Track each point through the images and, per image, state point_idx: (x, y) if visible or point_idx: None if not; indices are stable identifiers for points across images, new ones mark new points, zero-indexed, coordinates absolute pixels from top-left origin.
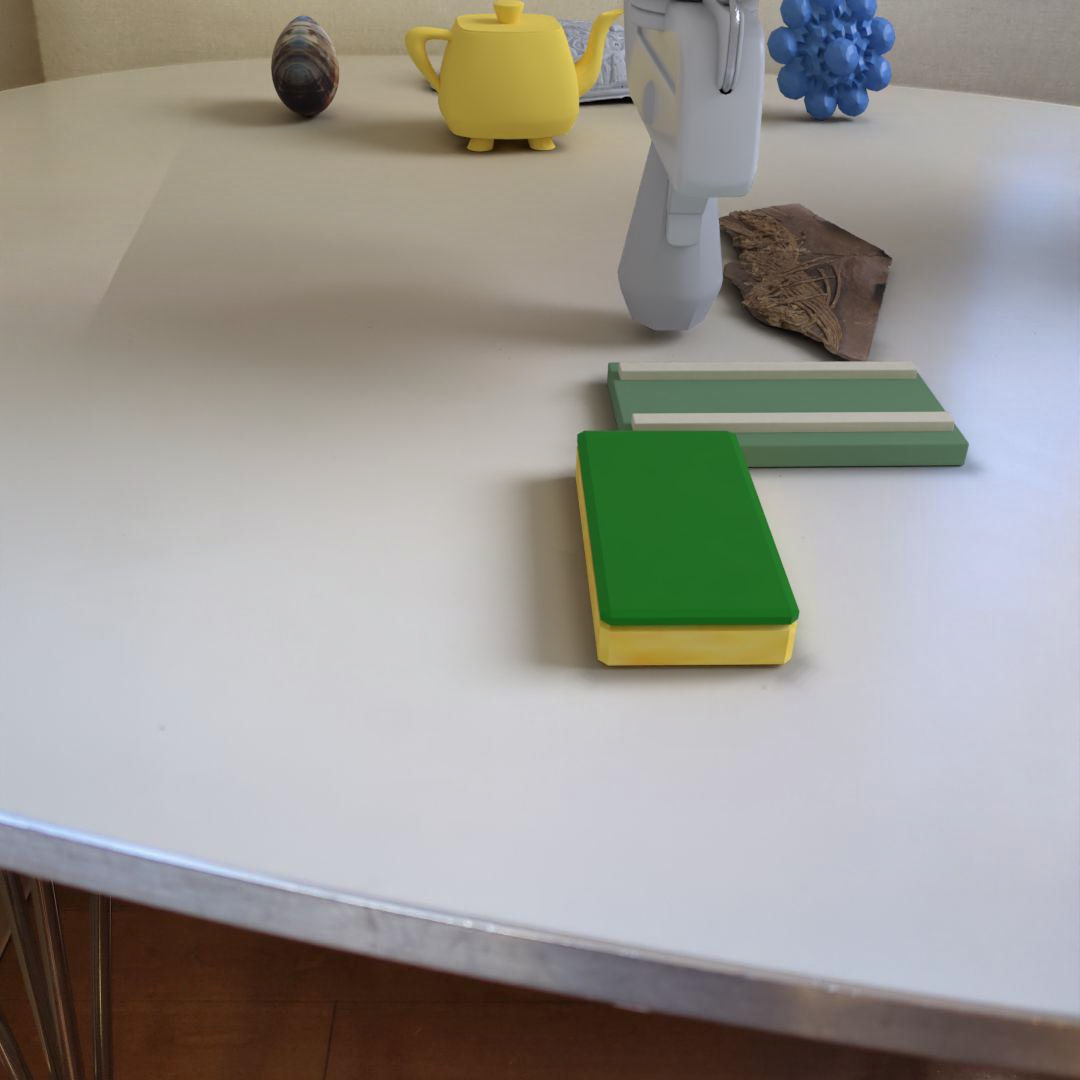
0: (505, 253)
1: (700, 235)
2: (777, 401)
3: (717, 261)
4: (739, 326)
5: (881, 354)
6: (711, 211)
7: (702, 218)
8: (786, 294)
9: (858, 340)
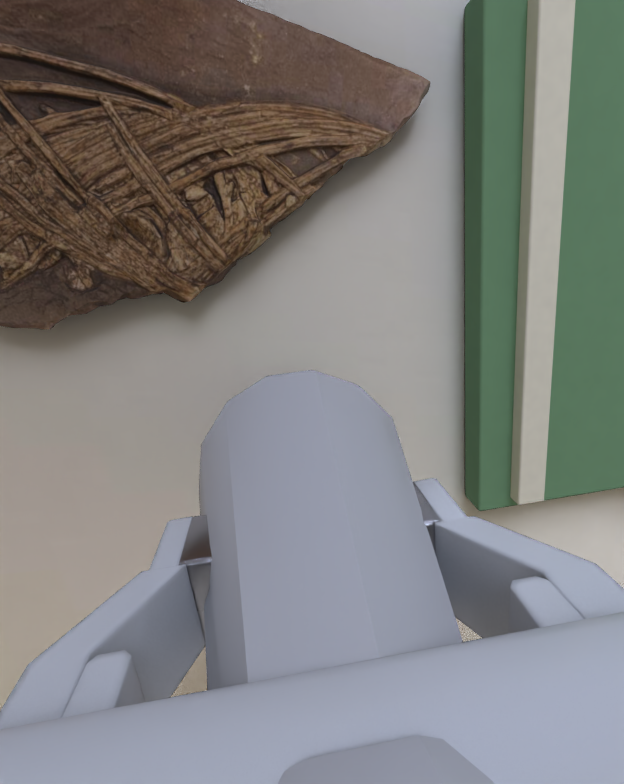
0: (6, 671)
1: (439, 484)
2: (617, 280)
3: (346, 402)
4: (247, 304)
5: (344, 29)
6: (385, 483)
7: (458, 507)
8: (133, 202)
9: (340, 75)
